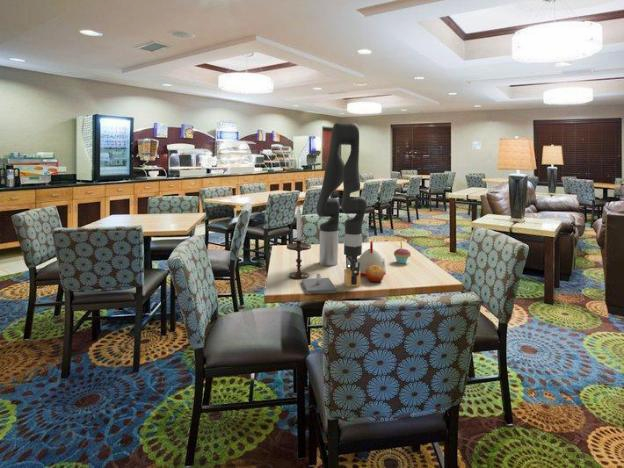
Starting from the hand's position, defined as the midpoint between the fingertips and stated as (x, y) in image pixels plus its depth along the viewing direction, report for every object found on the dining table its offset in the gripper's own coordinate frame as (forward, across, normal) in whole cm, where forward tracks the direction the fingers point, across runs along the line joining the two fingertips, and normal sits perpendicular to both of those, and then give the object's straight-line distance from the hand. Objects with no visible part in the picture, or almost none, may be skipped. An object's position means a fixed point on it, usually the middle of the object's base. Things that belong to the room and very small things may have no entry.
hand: (352, 281), depth 185 cm
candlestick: (+1, -15, -21) cm, 26 cm away
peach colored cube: (+1, 0, 0) cm, 1 cm away
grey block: (+1, +2, -15) cm, 15 cm away
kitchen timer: (+1, -15, +13) cm, 20 cm away
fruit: (+1, -3, +11) cm, 11 cm away
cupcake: (+1, -32, +35) cm, 47 cm away
